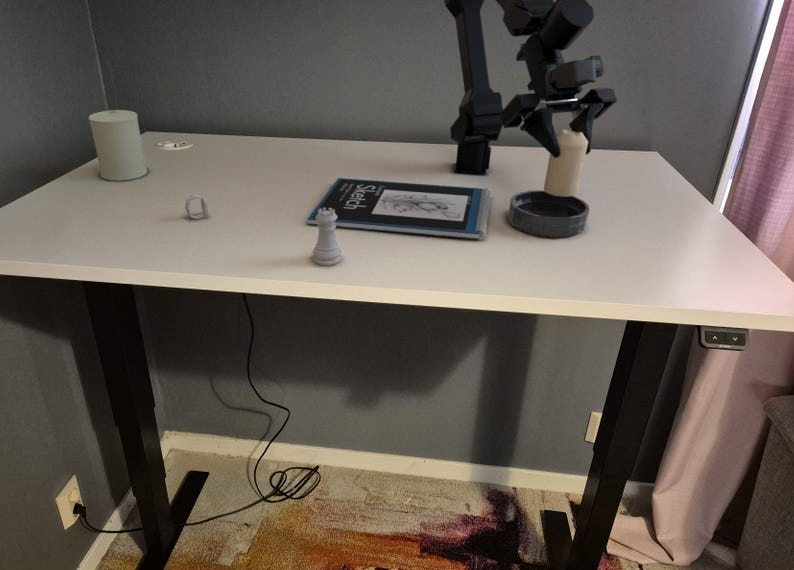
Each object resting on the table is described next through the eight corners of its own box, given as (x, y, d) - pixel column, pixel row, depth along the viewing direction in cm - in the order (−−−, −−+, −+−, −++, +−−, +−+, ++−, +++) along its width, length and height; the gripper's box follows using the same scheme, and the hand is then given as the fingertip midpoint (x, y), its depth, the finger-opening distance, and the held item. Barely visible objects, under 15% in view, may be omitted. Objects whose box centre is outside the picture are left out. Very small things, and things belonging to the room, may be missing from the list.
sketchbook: (338, 184, 127) (338, 174, 126) (490, 197, 121) (492, 186, 120) (307, 225, 109) (307, 213, 108) (484, 242, 104) (486, 230, 103)
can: (146, 164, 136) (135, 106, 129) (148, 178, 129) (138, 117, 122) (100, 168, 133) (87, 109, 127) (100, 182, 126) (87, 120, 119)
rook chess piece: (312, 254, 100) (310, 205, 95) (340, 253, 100) (340, 204, 96) (313, 267, 96) (311, 216, 91) (342, 266, 96) (342, 216, 92)
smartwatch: (188, 221, 110) (185, 199, 108) (185, 217, 112) (182, 195, 110) (209, 218, 112) (206, 196, 109) (205, 213, 113) (202, 192, 111)
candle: (580, 189, 109) (593, 129, 103) (572, 199, 105) (585, 138, 99) (548, 183, 111) (559, 124, 105) (539, 193, 107) (550, 132, 101)
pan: (508, 235, 106) (511, 214, 104) (507, 207, 117) (510, 188, 115) (588, 241, 104) (593, 221, 102) (580, 212, 115) (584, 193, 113)
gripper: (522, 38, 95) (550, 133, 93) (624, 33, 100) (653, 123, 98) (488, 83, 106) (513, 169, 103) (583, 76, 111) (608, 158, 109)
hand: (572, 154), depth 103 cm, fingers closed on candle, 5 cm apart
